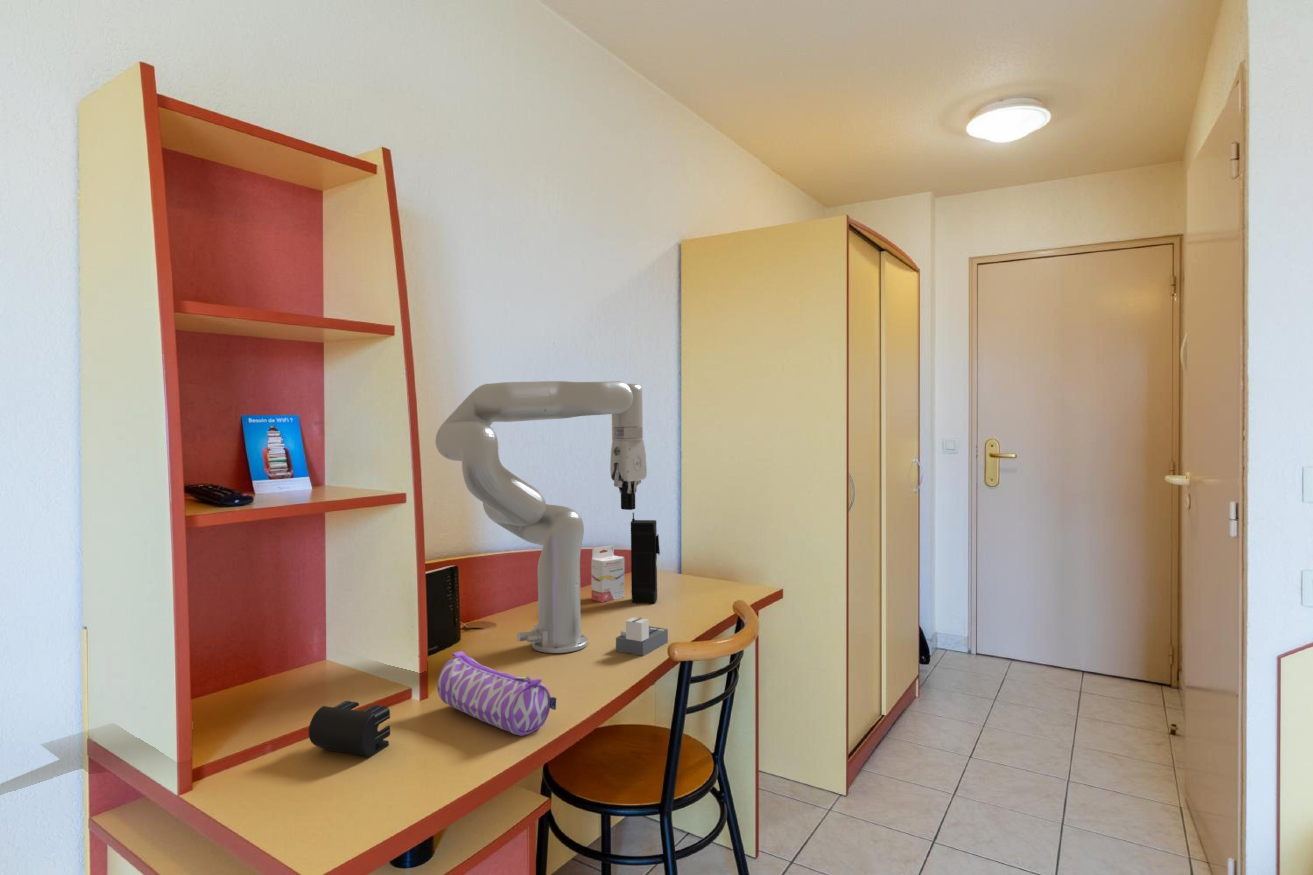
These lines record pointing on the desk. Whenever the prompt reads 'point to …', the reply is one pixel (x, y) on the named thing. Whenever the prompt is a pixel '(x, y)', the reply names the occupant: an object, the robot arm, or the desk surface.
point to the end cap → (350, 729)
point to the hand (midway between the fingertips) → (628, 509)
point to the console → (642, 648)
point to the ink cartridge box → (606, 574)
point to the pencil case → (494, 695)
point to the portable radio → (644, 561)
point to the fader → (637, 629)
